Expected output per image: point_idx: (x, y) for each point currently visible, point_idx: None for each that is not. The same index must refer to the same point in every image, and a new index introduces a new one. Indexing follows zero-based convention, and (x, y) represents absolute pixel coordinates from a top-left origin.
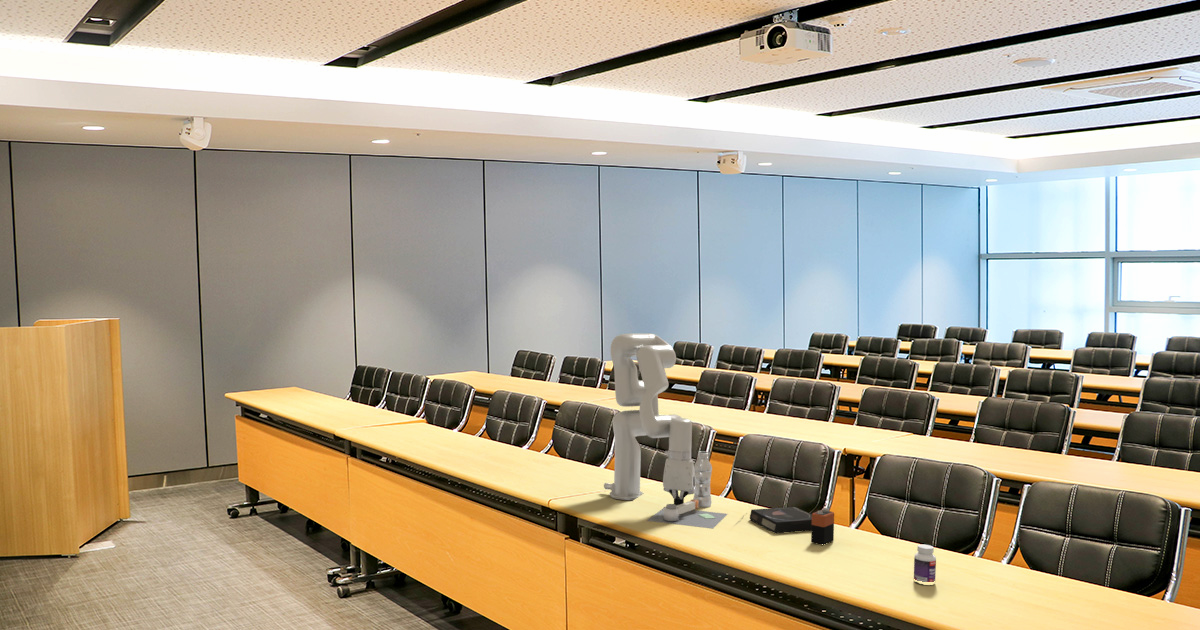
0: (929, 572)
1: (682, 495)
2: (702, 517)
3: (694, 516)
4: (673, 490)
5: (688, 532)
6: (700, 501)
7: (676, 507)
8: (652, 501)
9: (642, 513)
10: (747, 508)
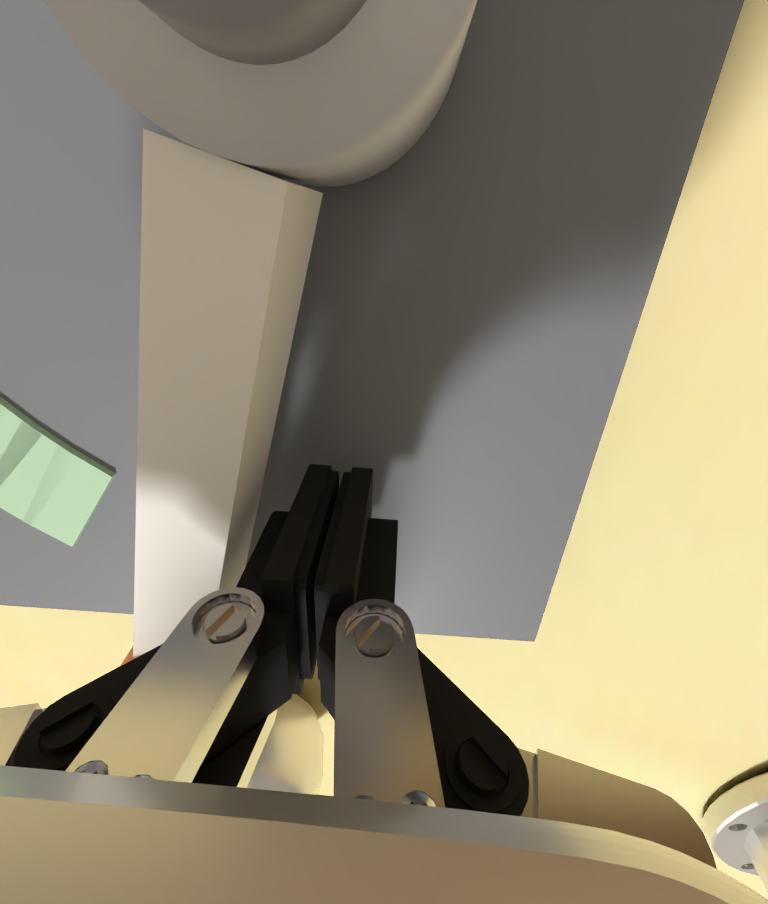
0: None
1: (171, 659)
2: (22, 404)
3: (122, 413)
4: (391, 794)
5: None
6: None
7: (139, 57)
8: (640, 766)
9: (759, 478)
10: None
